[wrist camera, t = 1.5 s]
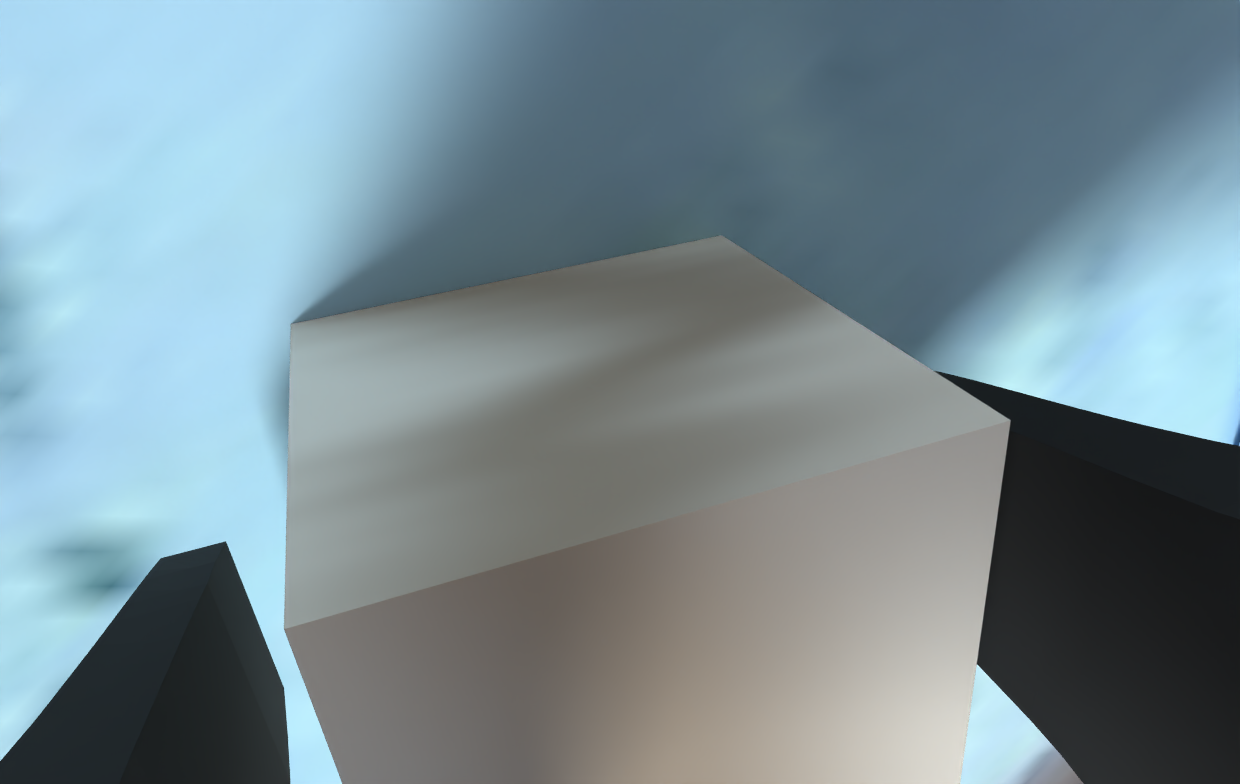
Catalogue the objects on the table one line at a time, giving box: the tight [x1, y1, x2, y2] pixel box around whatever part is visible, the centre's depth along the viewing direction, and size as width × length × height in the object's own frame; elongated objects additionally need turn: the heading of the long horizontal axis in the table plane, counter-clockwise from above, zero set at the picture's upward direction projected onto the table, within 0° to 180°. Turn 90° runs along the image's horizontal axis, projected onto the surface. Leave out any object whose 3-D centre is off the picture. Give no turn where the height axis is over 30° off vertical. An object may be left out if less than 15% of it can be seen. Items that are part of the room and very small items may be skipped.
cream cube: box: [284, 235, 1011, 784], centre depth 9 cm, size 5×5×5 cm
